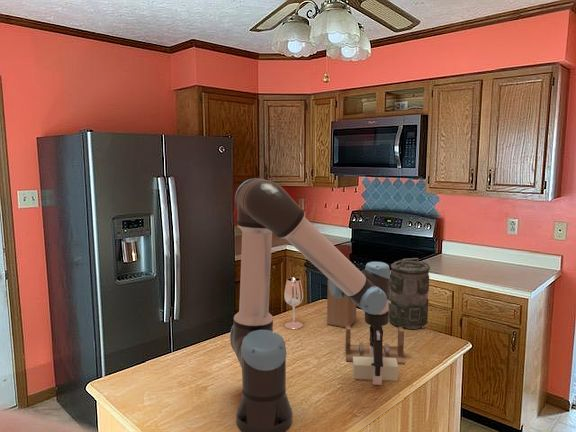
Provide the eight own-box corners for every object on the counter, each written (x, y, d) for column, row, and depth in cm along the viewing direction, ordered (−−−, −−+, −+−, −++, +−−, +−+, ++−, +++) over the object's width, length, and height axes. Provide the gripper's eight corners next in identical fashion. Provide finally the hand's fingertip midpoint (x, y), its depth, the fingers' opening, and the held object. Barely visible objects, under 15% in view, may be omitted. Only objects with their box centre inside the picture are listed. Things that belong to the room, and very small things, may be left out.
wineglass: (282, 328, 185) (281, 281, 183) (287, 321, 193) (287, 276, 190) (300, 330, 183) (300, 282, 180) (305, 323, 191) (305, 277, 188)
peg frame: (405, 364, 154) (406, 336, 152) (346, 361, 156) (346, 334, 154) (399, 347, 167) (400, 322, 165) (345, 345, 169) (345, 320, 167)
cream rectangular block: (398, 381, 143) (398, 366, 142) (353, 379, 144) (354, 365, 144) (395, 372, 149) (395, 358, 148) (352, 370, 150) (352, 356, 149)
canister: (400, 331, 181) (403, 264, 177) (382, 317, 197) (384, 255, 192) (435, 327, 186) (438, 261, 182) (414, 314, 201) (417, 253, 197)
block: (326, 324, 189) (326, 278, 186) (335, 317, 198) (335, 272, 195) (348, 329, 184) (349, 282, 181) (356, 321, 193) (357, 275, 190)
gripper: (393, 325, 131) (391, 394, 134) (384, 298, 155) (383, 357, 158) (367, 324, 132) (366, 393, 135) (362, 298, 156) (361, 357, 159)
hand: (375, 374), depth 147 cm, fingers open, 12 cm apart
